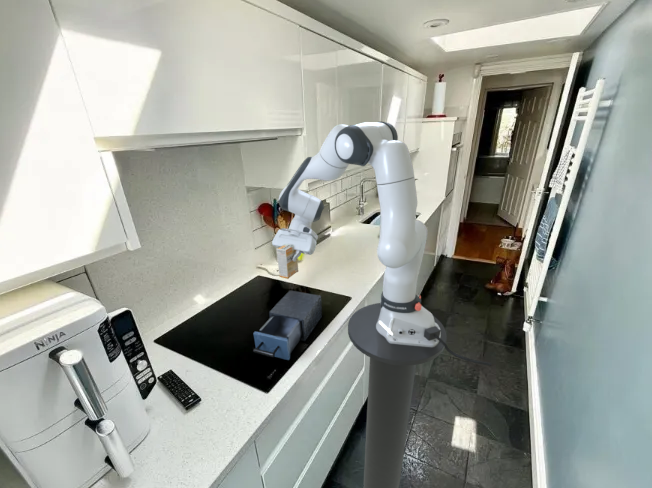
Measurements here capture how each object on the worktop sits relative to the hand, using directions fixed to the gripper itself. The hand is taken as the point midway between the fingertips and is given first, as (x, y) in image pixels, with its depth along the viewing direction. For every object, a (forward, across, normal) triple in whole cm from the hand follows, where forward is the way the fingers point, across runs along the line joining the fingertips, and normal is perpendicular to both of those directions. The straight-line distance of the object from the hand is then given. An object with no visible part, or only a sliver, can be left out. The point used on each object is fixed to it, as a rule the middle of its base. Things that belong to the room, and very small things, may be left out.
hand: (287, 259), depth 129 cm
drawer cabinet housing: (+24, +15, +3) cm, 28 cm away
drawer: (+33, +17, -8) cm, 38 cm away
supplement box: (+5, 0, +6) cm, 7 cm away
